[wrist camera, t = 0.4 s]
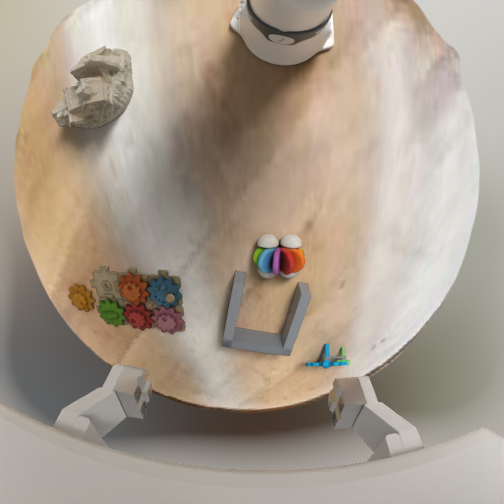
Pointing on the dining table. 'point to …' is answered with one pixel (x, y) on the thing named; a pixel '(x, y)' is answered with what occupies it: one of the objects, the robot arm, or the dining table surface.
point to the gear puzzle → (134, 299)
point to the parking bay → (260, 339)
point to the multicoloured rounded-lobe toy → (279, 256)
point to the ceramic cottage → (97, 90)
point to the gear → (326, 359)
